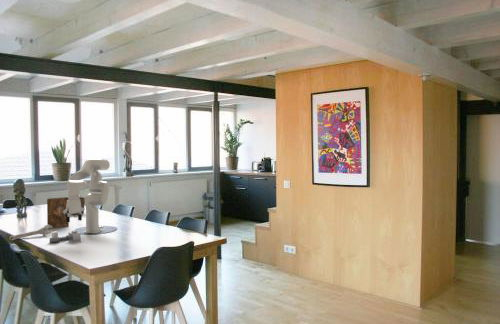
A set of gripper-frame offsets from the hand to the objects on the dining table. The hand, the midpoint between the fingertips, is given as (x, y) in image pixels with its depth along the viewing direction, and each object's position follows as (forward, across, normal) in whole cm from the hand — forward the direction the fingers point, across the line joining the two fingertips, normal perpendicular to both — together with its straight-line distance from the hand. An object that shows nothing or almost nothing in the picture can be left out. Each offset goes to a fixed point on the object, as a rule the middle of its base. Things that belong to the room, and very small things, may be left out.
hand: (74, 221), depth 308 cm
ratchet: (+15, +4, -9) cm, 18 cm away
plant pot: (+13, -73, -102) cm, 126 cm away
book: (+14, -24, -57) cm, 64 cm away
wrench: (+15, +10, -39) cm, 43 cm away
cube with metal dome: (+15, -1, 0) cm, 15 cm away
